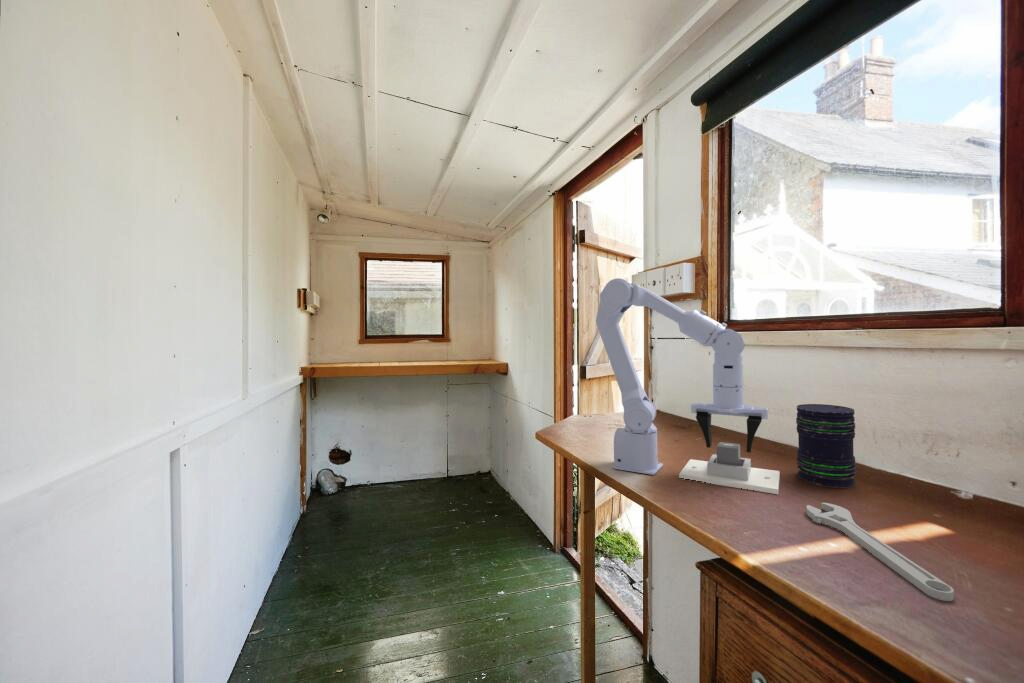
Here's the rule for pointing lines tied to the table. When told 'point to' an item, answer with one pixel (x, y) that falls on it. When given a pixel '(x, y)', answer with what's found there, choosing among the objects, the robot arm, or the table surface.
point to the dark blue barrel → (826, 445)
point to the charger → (728, 453)
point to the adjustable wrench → (881, 551)
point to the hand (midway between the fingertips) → (728, 448)
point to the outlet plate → (732, 475)
